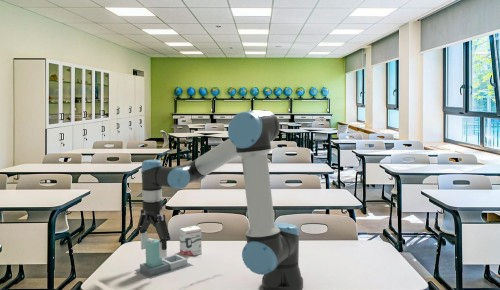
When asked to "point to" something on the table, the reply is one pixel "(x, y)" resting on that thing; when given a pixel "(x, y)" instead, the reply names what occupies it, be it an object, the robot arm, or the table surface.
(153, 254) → the plug
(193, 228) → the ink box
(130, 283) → the table surface
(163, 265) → the panel
